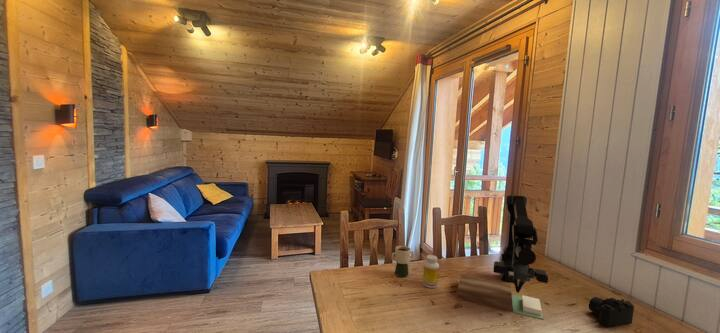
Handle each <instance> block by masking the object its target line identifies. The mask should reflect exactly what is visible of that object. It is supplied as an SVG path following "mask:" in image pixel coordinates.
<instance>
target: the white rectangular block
mask: <svg viewBox="0 0 720 333" xmlns="http://www.w3.org/2000/svg"><path fill="white" fill-rule="evenodd" d="M522 307H523V311H525V312H528V313H532V314H536V315H540V316H541V311H542V306H541V300H540V299H539V298H536V297H533V296H532V297H531V296H527V295H524V294H522Z"/></svg>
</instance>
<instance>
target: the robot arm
mask: <svg viewBox="0 0 720 333" xmlns="http://www.w3.org/2000/svg"><path fill="white" fill-rule="evenodd" d="M504 205H505V208H506V211H507V212H508V226H507V227H508V228H507V237H506V238H507V239H506V240H507V241H506V245H505V246H504V248H503V249H502V253H500V256H499V261H494V262H493V273H496V274H499V275H500V280H501V281H506V282H509V283H511V282H512V283H513V284H514V288H515V292H516V293H519V294H520V291H521V289H522V288H523V286H524V284H525V283H526V282H531V279H534V278H535V279H536V281H537V282H539V283H543V284H548V282H549V276H548V273H547V271H546V270H544V269H538V268H533V267H530V265H532V264H534V263H535V261H537V260H536V259H537V256H536V254H535V253H536V252H534V250H533V248H532V247H533V246H537V242H538V241H539V240H538V238H539V237H538V231H537V229H536V227H535V226H534V223H533V221H532V220H531V219H530V218H529V215H528V210H527V206H528V198H527V197H526V196H525V195H519V194H518V195H516V194H514V195H513V194H508V195H507V196H505V197H504ZM532 245H533V246H532Z"/></svg>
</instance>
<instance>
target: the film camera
mask: <svg viewBox="0 0 720 333" xmlns="http://www.w3.org/2000/svg"><path fill="white" fill-rule="evenodd" d="M588 309H589V310H590V311H591V312H592V313H594V314H595V315H597V316H598V321H597V322H598V324H599V325H600V326H601V327H604V328H607V329H609V328H610V329H611V328H616V327H620V326H625V325H626V326H627V325H629V324H632V323H633V317H634V309H635V305H634V304H633V303H632V302H631V301H630V300H625V299H624V298H623V299H622V298H621V299H617V298H615V297H609V298H608V297H607V298H605V299H603V298H601V297H597V296H593V297H592V298H590V300H589V303H588Z"/></svg>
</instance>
